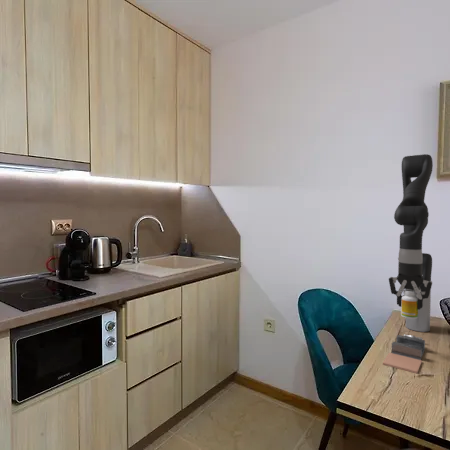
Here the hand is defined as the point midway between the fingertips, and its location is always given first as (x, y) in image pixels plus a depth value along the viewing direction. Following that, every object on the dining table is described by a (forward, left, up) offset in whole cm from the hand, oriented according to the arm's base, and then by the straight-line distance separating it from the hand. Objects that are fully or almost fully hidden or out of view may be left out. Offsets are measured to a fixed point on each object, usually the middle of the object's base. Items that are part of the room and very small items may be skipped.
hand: (409, 307), depth 117 cm
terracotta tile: (+12, 0, -16) cm, 20 cm away
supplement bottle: (0, 0, -4) cm, 4 cm away
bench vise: (-3, 0, -16) cm, 16 cm away
